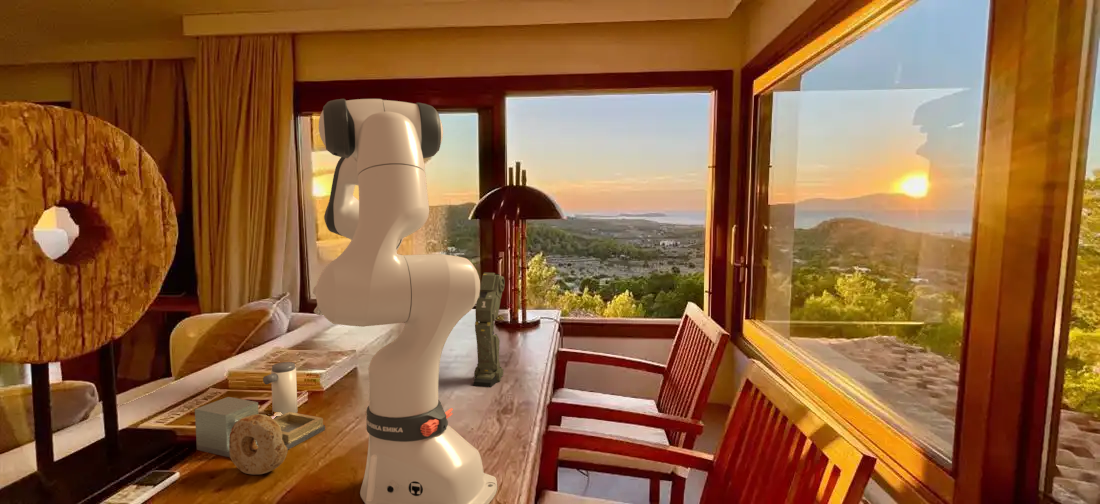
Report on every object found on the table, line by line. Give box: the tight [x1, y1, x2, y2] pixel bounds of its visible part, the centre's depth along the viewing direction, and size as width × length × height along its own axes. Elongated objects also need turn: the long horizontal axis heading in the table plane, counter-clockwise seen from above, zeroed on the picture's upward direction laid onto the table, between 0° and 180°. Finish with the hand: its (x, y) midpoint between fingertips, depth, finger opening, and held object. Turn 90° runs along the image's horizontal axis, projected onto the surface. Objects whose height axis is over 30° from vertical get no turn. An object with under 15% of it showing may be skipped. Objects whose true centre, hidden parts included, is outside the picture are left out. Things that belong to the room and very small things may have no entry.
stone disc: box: [229, 413, 289, 475], centre depth 94 cm, size 10×4×10 cm, turn 75°
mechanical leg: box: [472, 272, 506, 388], centre depth 145 cm, size 14×7×30 cm, turn 169°
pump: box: [262, 361, 298, 415], centre depth 119 cm, size 5×7×11 cm
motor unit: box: [194, 396, 326, 458], centre depth 107 cm, size 16×16×8 cm
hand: (329, 316), depth 129 cm, fingers open, 8 cm apart
